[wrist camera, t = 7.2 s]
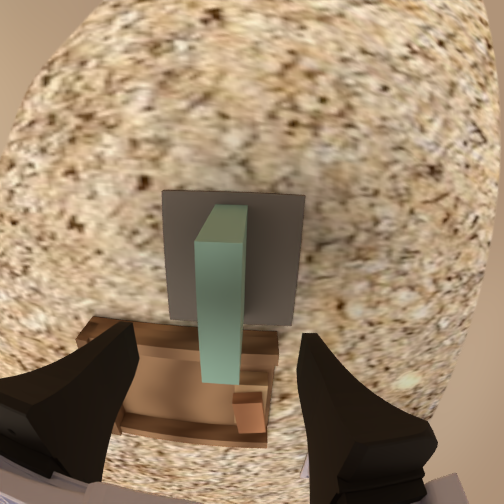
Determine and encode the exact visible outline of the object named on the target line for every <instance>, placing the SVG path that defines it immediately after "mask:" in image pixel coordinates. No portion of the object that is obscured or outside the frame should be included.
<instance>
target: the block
mask: <svg viewBox="0 0 504 504" xmlns="http://www.w3.org/2000/svg"><path fill="white" fill-rule="evenodd" d="M247 211H248V205H223V204H215V206H214V208H213V210H212V211H211V213H210V215H209V216H208V218H207V220H206V222H205V223H204V225H203V227H202V229H201V230H200V232H199V234H198V236H197V237H196V239H195V241H194V249H195V279H196V301H197V320H198V336H199V351H200V364H201V376H202V382H203V383H215V384H231V385H239V379H240V365H241V350H242V336H243V322H244V298H245V268H246V239H247Z"/></svg>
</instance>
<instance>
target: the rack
mask: <svg viewBox="0 0 504 504" xmlns="http://www.w3.org/2000/svg"><path fill="white" fill-rule="evenodd" d="M119 321H125V320H117V319H109V318H101V317H94V316H93V317H92V318H91V319H90V321H89V322H88V323H87V325H86V326H85V327H84V328H83V330H82V331H81V332H80V334H79V335H78V336H77V338H76V343H77V346H78V349H79V348H81V347H82V346H84V345H85V344H87V343H89V342H90V341H91V340H93V339H94V338H96V337H97V336H99V335H100V334H102V333H103V332H104V331H106V330H107V329H109V328H110V327H112V326H113V325H114V324H116V323H118V322H119ZM125 322H133V327H134V332H135V337H136V342H137V347H138V352H139V357H140V360H139V363H138V367H137V370H136V373H135V377H134V379H133V381H132V384H131V386H130V388H129V390H128V393H127V395H126V397H125V399H124V401H123V404H122V406H121V408H120V410H119V412H118V415H117V417H116V420H115V423H114V426H113V430H112V434H116V435H120V436H121V434H122V432H125V433H129V434H134V435H139V436H145V437H150V438H156V439H162V440H169V441H176V442H183V443H192V444H201V445H211V446H224V447H241V448H267V423H268V416H269V408H270V400H271V392H272V383H273V375H274V366H278V360H279V348H278V336H277V331H251V330H243V336H242V350H241V365H240V371H253V372H268V390H267V399H266V408H265V430H266V432H263V433H239V432H238V427H237V423H234V410H233V406H232V400H233V393H235V385H231V384H215V383H203V382H202V376H201V364H200V351H199V336H198V327H186V326H174V325H163V324H153V323H143V322H134V321H125Z"/></svg>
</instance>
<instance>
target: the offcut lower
mask: <svg viewBox="0 0 504 504" xmlns="http://www.w3.org/2000/svg"><path fill="white" fill-rule="evenodd" d="M267 390H268V372H253V371H240V379H239V385H235V393H244V392H262V399H263V407H264V415H265V408H266V399H267ZM234 423H236V419H235V415H234Z"/></svg>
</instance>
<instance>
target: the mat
mask: <svg viewBox="0 0 504 504" xmlns="http://www.w3.org/2000/svg"><path fill="white" fill-rule="evenodd" d="M215 204H223V205H248V211H247V239H246V268H245V298H244V322H243V324H250V325H278V326H292V319H293V311H294V303H295V294H296V286H297V277H298V267H299V258H300V248H301V238H302V227H303V216H304V204H305V195H293V194H275V193H254V192H227V191H176V190H163V191H162V216H163V237H164V254H165V268H166V281H167V293H168V303H169V313H170V319H172V320H184V321H197V322H198V320H197V301H196V279H195V249H194V241H195V239H196V237H197V236H198V234H199V232H200V230H201V229H202V227H203V225H204V223H205V222H206V220H207V218H208V216H209V215H210V213H211V211H212V210H213V208H214V206H215Z"/></svg>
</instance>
